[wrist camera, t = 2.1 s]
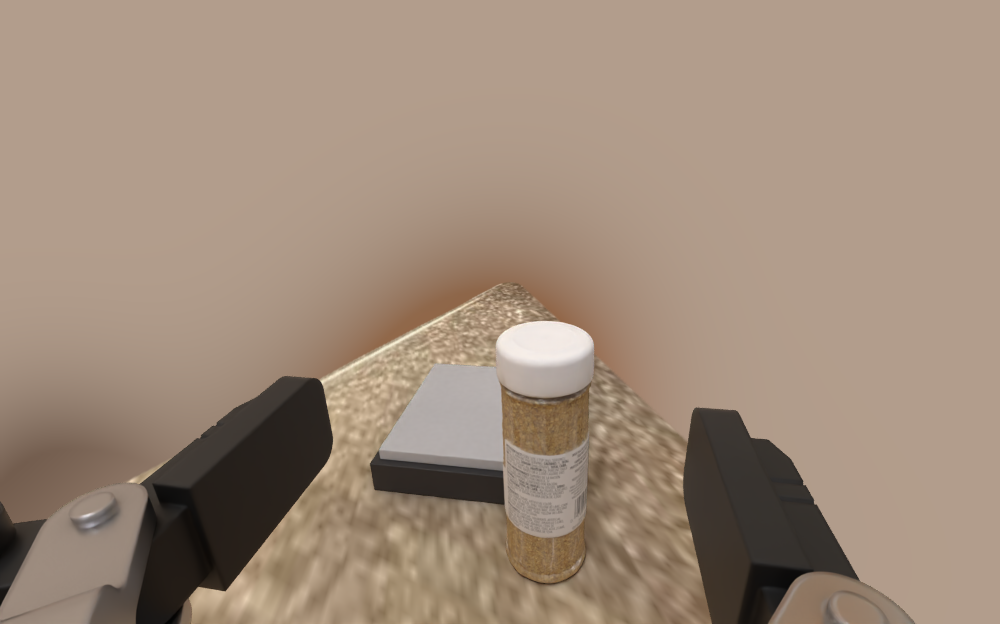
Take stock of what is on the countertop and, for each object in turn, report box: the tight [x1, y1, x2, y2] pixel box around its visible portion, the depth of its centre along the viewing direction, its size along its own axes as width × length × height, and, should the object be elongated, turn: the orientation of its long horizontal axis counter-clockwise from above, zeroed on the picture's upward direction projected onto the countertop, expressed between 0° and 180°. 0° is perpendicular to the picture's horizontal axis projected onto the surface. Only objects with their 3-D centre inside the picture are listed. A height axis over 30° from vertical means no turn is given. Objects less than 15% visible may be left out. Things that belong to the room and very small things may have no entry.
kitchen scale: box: [370, 364, 505, 504], centre depth 36 cm, size 13×13×3 cm
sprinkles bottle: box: [496, 321, 594, 584], centre depth 24 cm, size 5×5×14 cm
